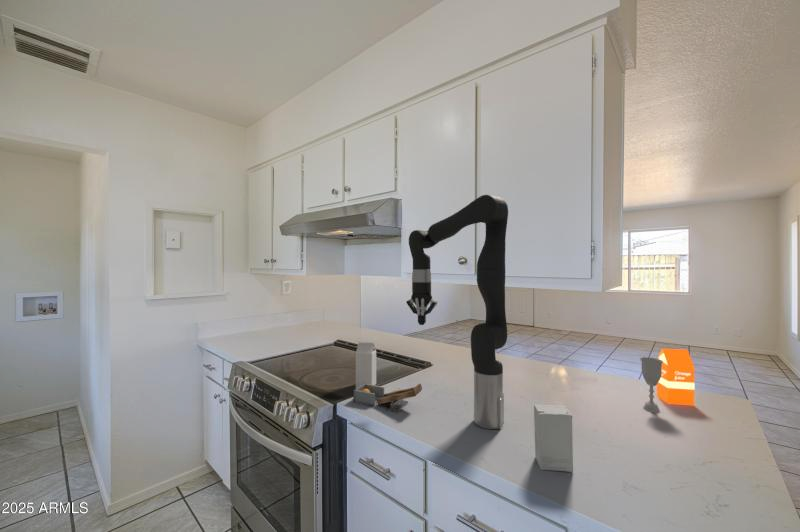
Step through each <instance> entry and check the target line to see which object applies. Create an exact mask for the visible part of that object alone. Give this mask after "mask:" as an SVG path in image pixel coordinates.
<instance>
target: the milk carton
mask: <svg viewBox="0 0 800 532" xmlns="http://www.w3.org/2000/svg"><path fill="white" fill-rule="evenodd" d="M363 384H370V385H375V386H377V348H376V347H375V342H366V341H358V343H357V348H356V352H355V389H356V388H358V387H360V386H361V385H363Z"/></svg>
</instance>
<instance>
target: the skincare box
mask: <svg viewBox="0 0 800 532" xmlns="http://www.w3.org/2000/svg"><path fill="white" fill-rule="evenodd" d="M533 414H534V415H533V416H534V417H533V422H534V423H533V424H534V457H535V459H536V462H537V464H538V465H537V466H538V467H539V469H540V471H541V470H543V471H557V472H569V473H570V472H571V473H573V472H574V452H573V451H574V448H573V447H574V446H573V443H574V442H573V415H572V414H571V412H570V410H569V409H567V407H566V406H565V405H560V404H559V405H549V404H533Z"/></svg>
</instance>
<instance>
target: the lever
mask: <svg viewBox="0 0 800 532" xmlns="http://www.w3.org/2000/svg"><path fill="white" fill-rule="evenodd" d="M422 390H423V386H422V383H418V384H417V385H416V386H414V387H409V388H403V389H397V390H392V391H390V392H388V393H384V397H383V398H380V399H377V403H378V404H377V405H382V404H386V403H387V404H388V403H392V402H393V401H396V400H401V399H403V400H406V399H410V398H414V397H416V396H417V395H418V394H419V393H421V392H422Z"/></svg>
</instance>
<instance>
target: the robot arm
mask: <svg viewBox="0 0 800 532" xmlns="http://www.w3.org/2000/svg"><path fill="white" fill-rule="evenodd" d="M508 219H509V207H508V204H507V202H506V200H505V199H503V198H502V197H499V196H494V195H492V194H483V195H480V196H479V197H477V198H475V199H474V200H473V201H471V202H470V203H469V204H467V205H466V206H464V207H463V208H461V209H459V210H458V211H457V212H455V213H453V214H452V215H449V216H448V217H446V218H444V219H442V220H440V221H437V222H435V223H433V224H432V225H430V226H429V227H428V230H421V229H420V230H419V229H418V230H416V229H415V230H413V231H411V232H410V234H409V236H408V246H409V249H410V250H409V252H410V255H411V259H412V276H411V286H412V287H411V293H412V294H411V298H410V299H408V300H407V301H406V304H407V306H408V308H409V309H410V310H411V312H412V313H413V314H416V315H417V323H418V325H419V326H424V325H425V324H426V322H427V320H426V319H427V315H429V314H431V313H432V311H433V310H434V308H435V307H436V306H437V305H438V301H435V300H434V299H433V296H432V273H431V257H430V255H428V254H426V253H425V250H424V249H427V250H428V249H431V248H432V247H435V245H437V244H439V242H442V241H444V240H447V239H450V238H451V237H454V236H455V235H457V233H459V232H460V231H461V230H463V229H464V228H466V227H469V226H471V225H474V224H479V223H483V224H485V238H484V242H483V246H482V248H481V251H480V253H479V255H478V259H477V262H476V284H477V288H478V291H479V292H480V295H481V297H482V299H483V302H484V306H485V321H484V322H482V323H478V324H476V325H474V326H473V328H472V330H471V333H470V354H471V362H472V364H473V422H474V424H475V425H476V426H478V427H480V428H482V429H486V430H496V429H497V430H502V427H503V425H504V423H505V394H504V389H503V387H504V385H503V381H504V380H503V378H504V377H503V375H504V374H503V372H504V371H503V369H504V368H503V367H504V365H503V363H502V362H501V361H499V360H497V359H496V358H497V357H496V351H497V350H498V349H502V347H504V346H505V345H506V343H507V342H508V341H507V340H508V325H507V316H506V237H507V235H506V234H507V226H508ZM429 304H430V305H429ZM428 305H429V306H428Z"/></svg>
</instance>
